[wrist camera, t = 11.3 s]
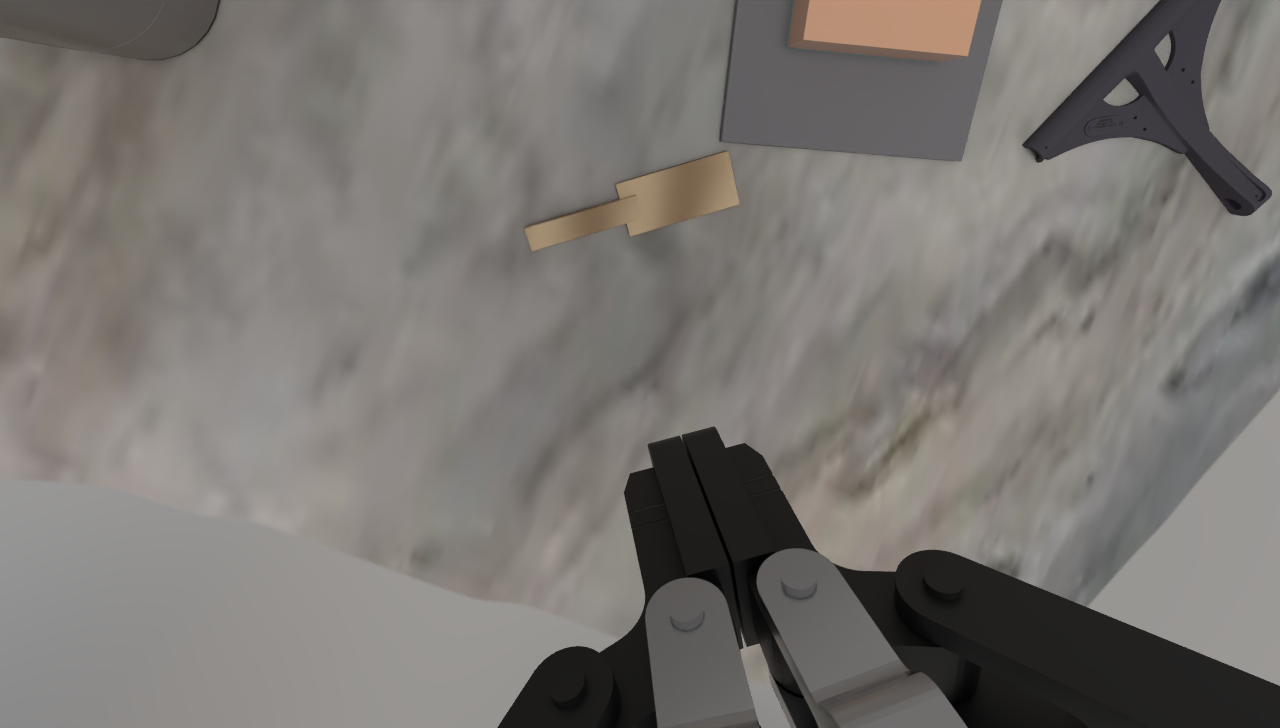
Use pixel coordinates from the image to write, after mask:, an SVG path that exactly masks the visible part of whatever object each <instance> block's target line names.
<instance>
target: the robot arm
mask: <svg viewBox="0 0 1280 728" xmlns="http://www.w3.org/2000/svg"><path fill="white" fill-rule="evenodd" d="M217 5H218V0H0V37H3V38H9V39H15V40H21V41H27V42H33V43H39V44H45V45H50V46H56V47H62V48H68V49H74V50H85V51H92V52H98V53H104V54H110V55H116V56H122V57H129V58H135V59H141V60H160V59H166V58H170V57H173V56H176V55H180V54H182V53H183V52H185V51H186V50H188V49H190V48H191V47H193V46H194V45H196V43H197V42H198V41H199V40H200V39H201V38H202V37H203V36H204V35H205V34H206V32H207V31H208V29H209V27H210V25H211V23H212V21H213V19H214V17H215V13H216V9H217ZM682 441H683V442H682ZM648 449H649V453H650V457H651V461H652V466H653V468H649V469H646V470H642V471H638V472H634V473H631V474H630V475H629V478H628V482H627V485H626V488H625V491H624V495H625V500H626V505H627V509H628V514H629V519H630V523H631V528H632V533H633V537H634V542H635V547H636V552H637V556H638V561H639V566H640V570H641V575H642V580H643V585H644V589H645V605H644V609H643V612H642V614H641V617H640V618H639V620H638V622H637V623H636V625H635V626H634V627H633V629H632V630H631V631H630V632H629V633H628V634H627V635H625V636H624V637H623V638H621V639H620V640H619V641H617V642H615V643H614V644H613V645H611V646H609V647H608V648H606V649H605V650H603V651H601V652H600V653H599V652H597V651H595V650H593V649H591V648H588V647H581V646H576V647H569V648H565V649H562V650H559V651H557V652H555V653H554V654H552V655H550V656H549V657H548V658H546V659H545V660H544V661H543V662H542V663H541V664H540V665H539V666H538V667H537V669H536V670H535V671H534V673H533V674H532V676H531V677H530V679H529V680H528V682H527V683H526V685H525V686H524V688H523V690H522V691H521V692H520V694H519V696H518V697H517V699H516V700H515V702H514V703H513V705H512V706H511V708H510V709H509V711H508V712H507V714H506V715H505V717H504V718H503V720H502V722H501V723H500V725H499V726H498V728H761V726H760V725H759V722H758V719H757V716H756V712H755V708H754V704H753V700H752V696H751V693H750V689H749V685H748V681H747V677H746V673H745V670H744V666H743V662H742V658H741V653H740V649H742V648H743V643H742V637H741V632H742V635H743V638H744V641H745V643H746V646H747V647H748V646H752V645H755V644H759V643H760V646H761V648H762V651H763V653H764V656H765V659H766V661H767V664H768V670H769V677H770V682H771V685H772V688H773V690H774V692H775V694H776V697H777V699H778V701H779V703H780V705H781V708H782V709H783V712H784V714H785V716H786V718H787V721H788V723H789V725H790V727H791V728H1280V686H1278V685H1276V684H1274V683H1271V682H1269V681H1266V680H1264V679H1261V678H1259V677H1256V676H1254V675H1251V674H1249V673H1247V672H1244V671H1242V670H1239V669H1237V668H1234V667H1232V666H1229V665H1227V664H1224V663H1222V662H1219V661H1217V660H1215V659H1212V658H1210V657H1207V656H1205V655H1202V654H1200V653H1198V652H1195V651H1193V650H1190V649H1187V648H1185V647H1183V646H1180V645H1178V644H1175V643H1173V642H1171V641H1168V640H1166V639H1163V638H1160V637H1158V636H1156V635H1153V634H1151V633H1148V632H1146V631H1144V630H1141V629H1139V628H1136V627H1134V626H1131V625H1129V624H1126V623H1124V622H1121V621H1119V620H1117V619H1114V618H1112V617H1109V616H1107V615H1104V614H1101V613H1099V612H1097V611H1095V610H1092V609H1090V608H1087V607H1085V606H1082V605H1080V604H1077V603H1075V602H1072V601H1070V600H1068V599H1065V598H1063V597H1060V596H1058V595H1055V594H1053V593H1050V592H1048V591H1045V590H1043V589H1041V588H1038V587H1036V586H1033V585H1031V584H1028V583H1026V582H1023V581H1021V580H1018V579H1016V578H1014V577H1011V576H1009V575H1006V574H1004V573H1001V572H999V571H996V570H994V569H991V568H989V567H987V566H984V565H982V564H979V563H977V562H974V561H972V560H969V559H967V558H964V557H962V556H960V555H957V554H954V553H951V552H947V551H942V550H924V551H918V552H915V553H913V554H911V555H909V556H907V557H906V558H905V559H903V560H902V561H901V563H900V564H899V565H898V568H897V570H896V572H882V571H856V570H851V569H847V568H844V567H841V566H838V565H836V564H834V563H832V562H831V561H830V560H829V559H827V558H826V557H824V556H823V555H821V554H819V553H818V551H817V550H816V549H815V548H814V546H813V545H812V544H811V542H810V540H809V538H808V536H807V535H806V533H805V531H804V529H803V527H802V526H801V524H800V522H799V520H798V518H797V517H796V515H795V513H794V511H793V509H792V508H791V506H790V504H789V502H788V501H787V499H786V497H785V495H784V493H783V492H782V491H781V489H780V486H779V484H778V483H777V481H776V479H775V477H773V475H772V472H771V470H770V468H769V467H768V465H767V463H766V461H765V459H764V458H763V456H762V455H761V454H759V453H758V452H757V451H755V450H754V449H752V448H751V447H750V446H748V445H747V444H745V443H743V444H739V445H735V446H732V447H728V448H725V446H724V444H723V442H722V440H721V438H720V436H719V433H718V431H717V429H716V428H715V427H710V428H706V429H702V430H699V431H695V432H691V433H687V434H683V435H682V439H681V437H680V436H676V437H673V438H669V439H665V440H661V441H657V442H654V443H650V444H648ZM740 629H741V631H740Z"/></svg>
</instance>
